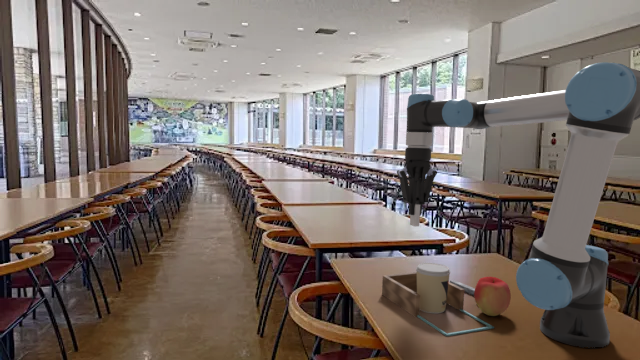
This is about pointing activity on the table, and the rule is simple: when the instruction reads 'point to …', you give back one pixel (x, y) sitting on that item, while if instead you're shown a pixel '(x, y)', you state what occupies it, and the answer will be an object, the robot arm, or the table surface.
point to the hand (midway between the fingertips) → (414, 225)
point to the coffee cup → (432, 286)
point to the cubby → (405, 288)
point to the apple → (492, 295)
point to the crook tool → (464, 287)
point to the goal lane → (460, 331)
